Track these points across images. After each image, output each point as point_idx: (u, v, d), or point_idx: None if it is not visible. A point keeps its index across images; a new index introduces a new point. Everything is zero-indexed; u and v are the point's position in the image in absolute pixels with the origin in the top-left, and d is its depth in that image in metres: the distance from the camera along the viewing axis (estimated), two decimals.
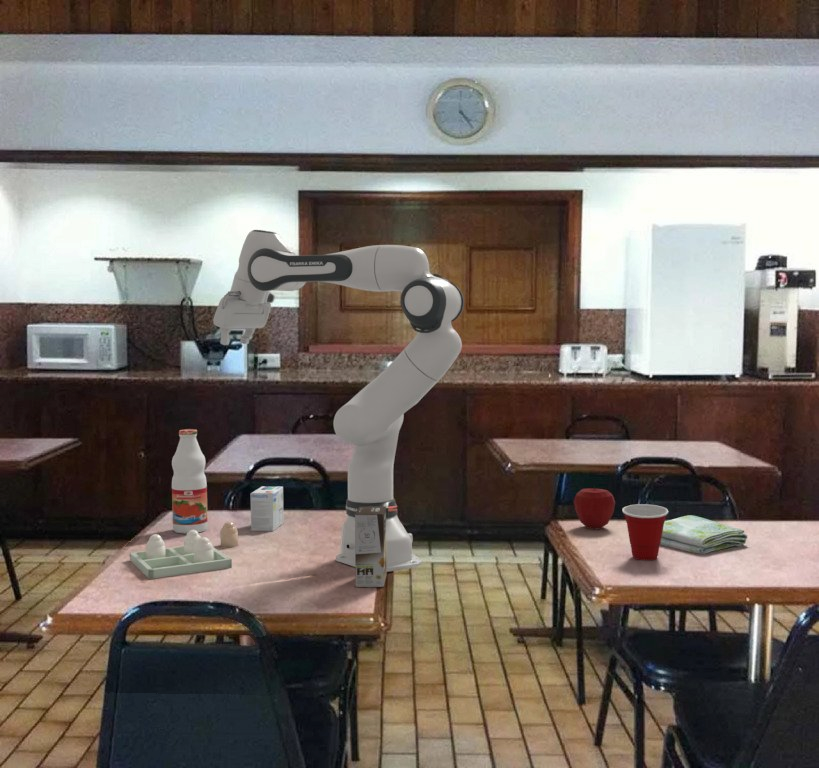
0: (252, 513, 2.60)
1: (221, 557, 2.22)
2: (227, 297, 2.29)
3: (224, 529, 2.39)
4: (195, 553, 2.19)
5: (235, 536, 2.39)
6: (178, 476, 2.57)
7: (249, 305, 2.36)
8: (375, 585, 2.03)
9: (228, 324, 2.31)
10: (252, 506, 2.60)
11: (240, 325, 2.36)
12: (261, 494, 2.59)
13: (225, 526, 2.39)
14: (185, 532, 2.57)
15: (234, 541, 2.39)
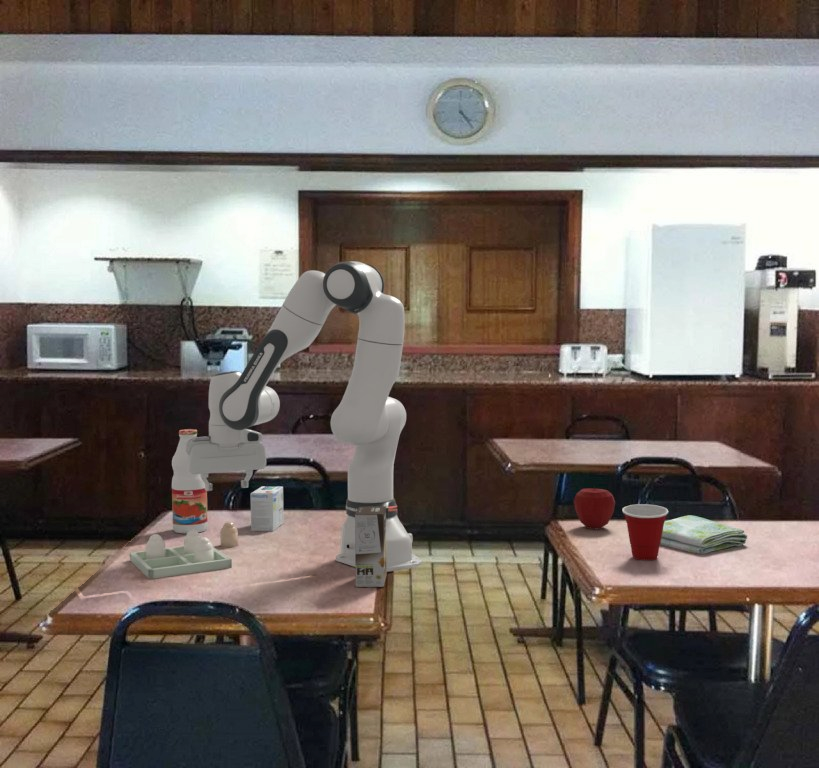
0: (252, 513, 2.60)
1: (221, 557, 2.22)
2: (189, 443, 2.34)
3: (224, 529, 2.39)
4: (195, 553, 2.19)
5: (235, 536, 2.39)
6: (178, 476, 2.57)
7: (222, 447, 2.36)
8: (375, 585, 2.03)
9: (196, 469, 2.34)
10: (252, 506, 2.60)
11: (219, 469, 2.37)
12: (261, 494, 2.59)
13: (225, 526, 2.39)
14: (185, 532, 2.57)
15: (234, 541, 2.39)
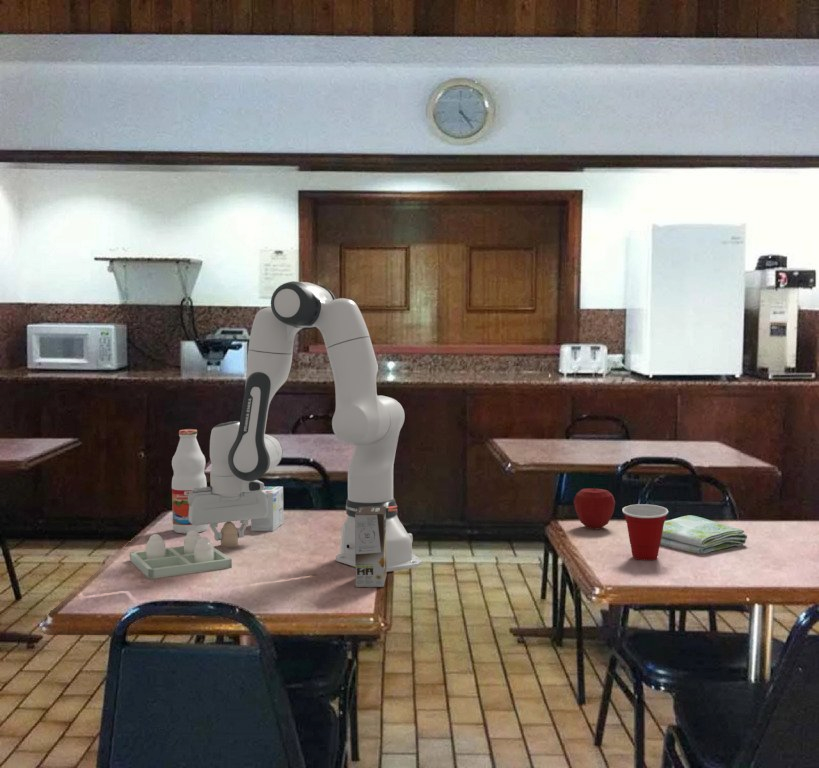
0: None
1: (221, 557, 2.22)
2: (191, 494, 2.35)
3: (224, 529, 2.39)
4: (195, 553, 2.19)
5: (235, 536, 2.39)
6: (178, 476, 2.57)
7: (223, 498, 2.37)
8: (375, 585, 2.03)
9: (198, 520, 2.35)
10: None
11: (221, 519, 2.37)
12: None
13: (225, 526, 2.39)
14: (185, 532, 2.57)
15: (234, 541, 2.39)
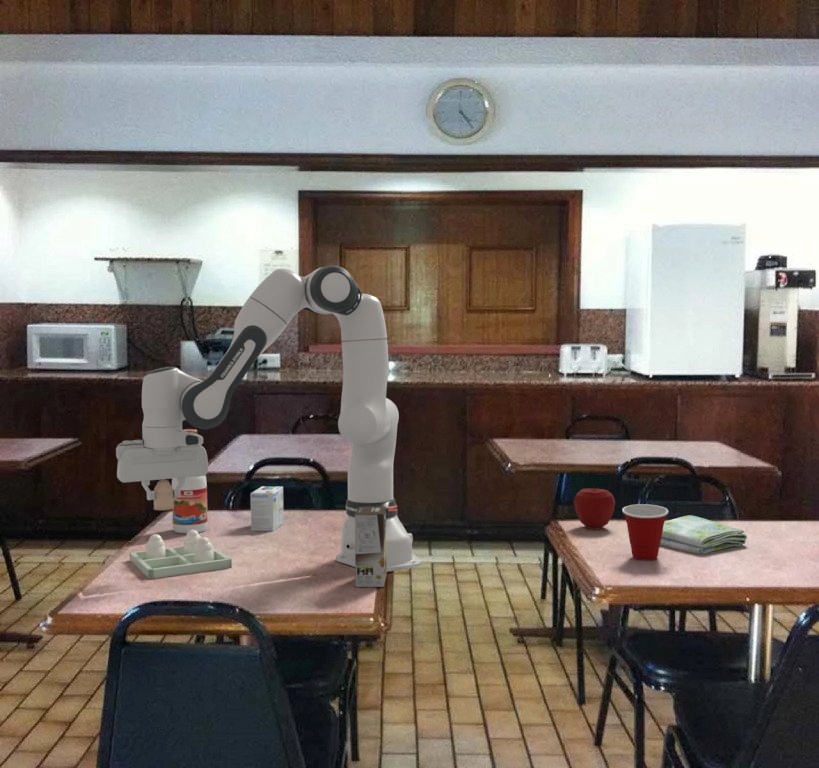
0: (252, 513, 2.60)
1: (221, 557, 2.22)
2: (119, 448, 2.10)
3: (157, 487, 2.14)
4: (195, 553, 2.19)
5: (170, 495, 2.14)
6: None
7: (156, 452, 2.12)
8: (375, 585, 2.03)
9: (127, 477, 2.10)
10: (252, 506, 2.60)
11: (153, 476, 2.12)
12: (261, 494, 2.59)
13: (159, 484, 2.14)
14: (185, 532, 2.57)
15: (169, 501, 2.14)
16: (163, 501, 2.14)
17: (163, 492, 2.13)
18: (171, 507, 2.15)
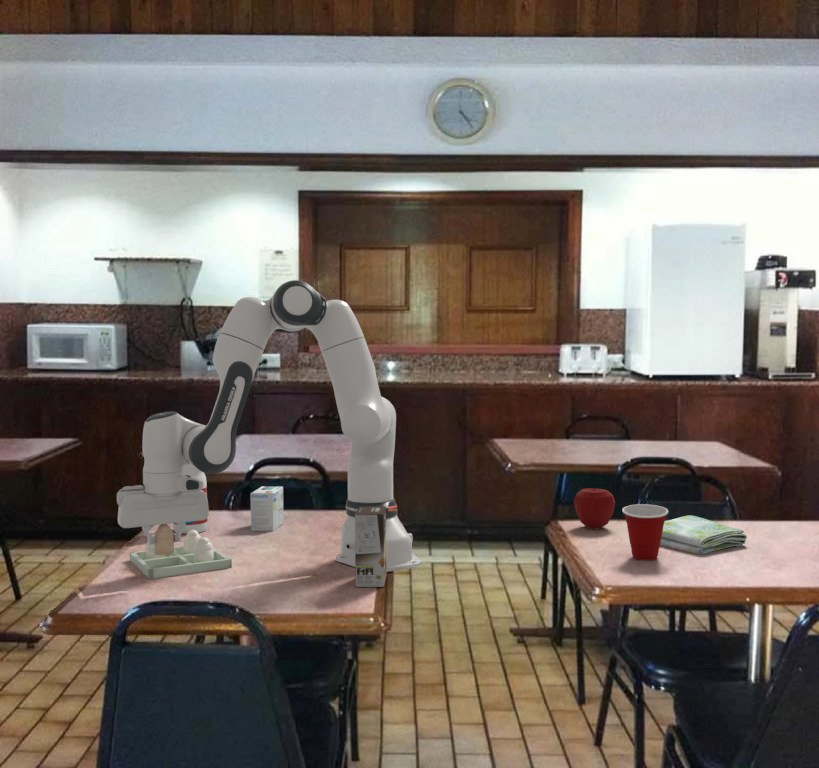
0: (252, 513, 2.60)
1: (221, 557, 2.22)
2: (120, 493, 2.10)
3: (158, 532, 2.15)
4: (195, 553, 2.19)
5: (170, 540, 2.15)
6: None
7: (157, 497, 2.12)
8: (375, 585, 2.03)
9: (128, 522, 2.10)
10: (252, 506, 2.60)
11: (154, 521, 2.13)
12: (261, 494, 2.59)
13: (159, 529, 2.15)
14: (185, 532, 2.57)
15: (169, 546, 2.15)
16: (163, 546, 2.14)
17: (163, 537, 2.14)
18: (171, 552, 2.16)
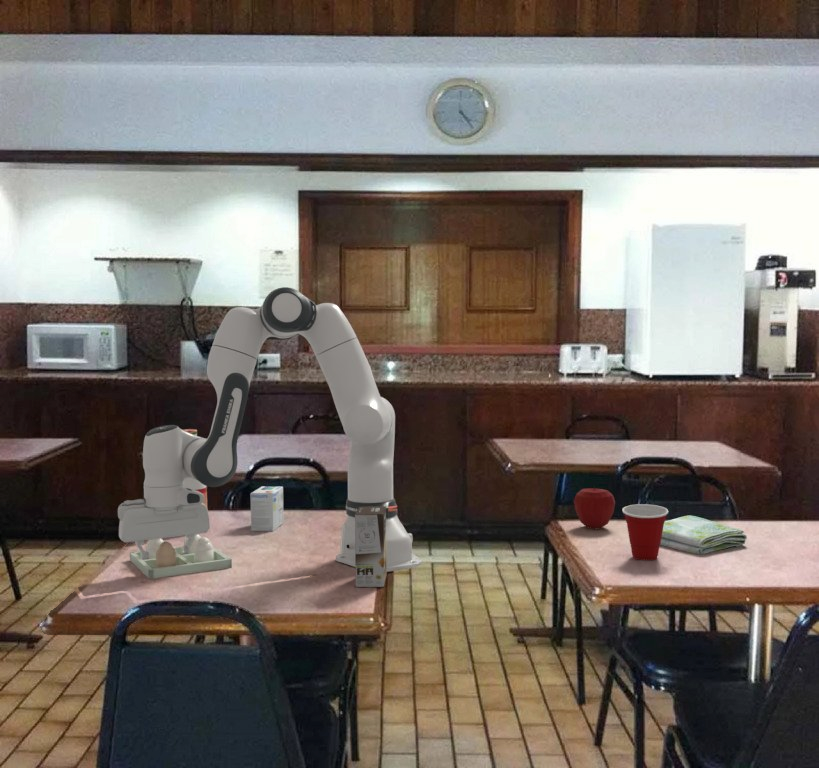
0: (252, 513, 2.60)
1: (221, 557, 2.22)
2: (121, 508, 2.10)
3: (160, 550, 2.15)
4: (195, 553, 2.19)
5: (172, 558, 2.15)
6: None
7: (158, 511, 2.12)
8: (375, 585, 2.03)
9: (129, 537, 2.10)
10: (252, 506, 2.60)
11: (155, 535, 2.13)
12: (261, 494, 2.59)
13: (161, 546, 2.15)
14: None
15: (171, 563, 2.15)
16: (165, 564, 2.14)
17: (165, 555, 2.14)
18: None
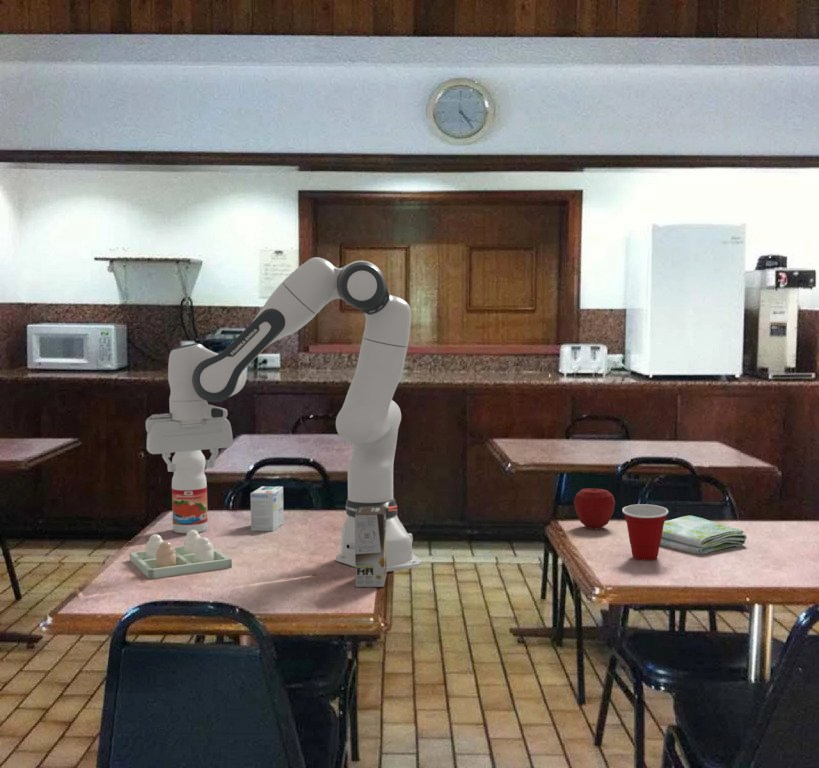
0: (252, 513, 2.60)
1: (221, 557, 2.22)
2: (148, 421, 2.20)
3: (160, 550, 2.15)
4: (195, 553, 2.19)
5: (172, 558, 2.15)
6: (178, 476, 2.57)
7: (184, 425, 2.22)
8: (375, 585, 2.03)
9: (157, 448, 2.20)
10: (252, 506, 2.60)
11: (181, 447, 2.22)
12: (261, 494, 2.59)
13: (161, 546, 2.15)
14: (185, 532, 2.57)
15: (171, 563, 2.15)
16: (165, 564, 2.14)
17: (165, 555, 2.14)
18: None
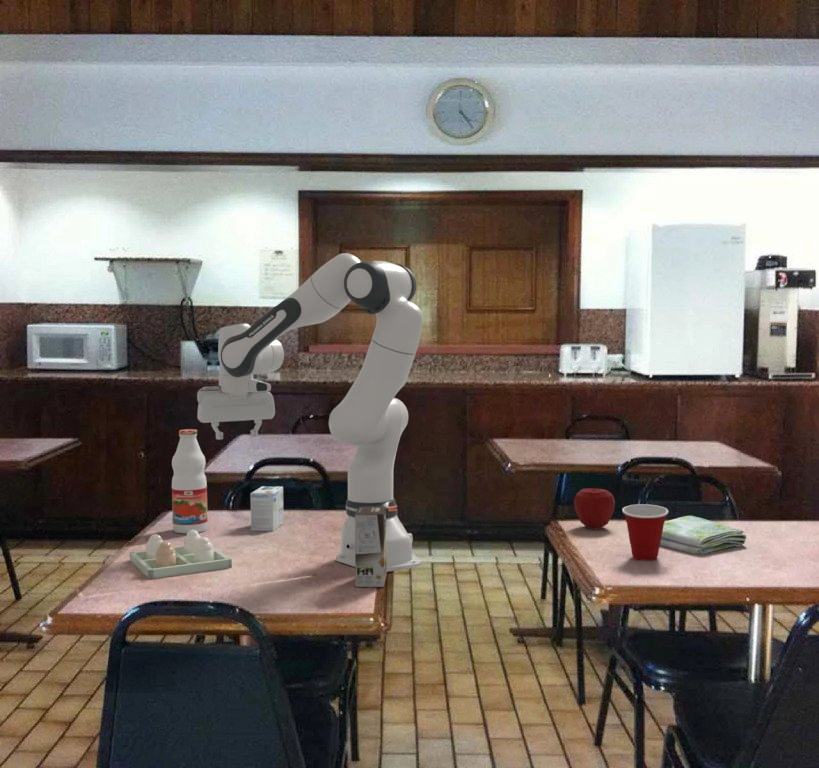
0: (252, 513, 2.60)
1: (221, 557, 2.22)
2: (200, 392, 2.42)
3: (160, 550, 2.15)
4: (195, 553, 2.19)
5: (172, 558, 2.15)
6: (178, 476, 2.57)
7: (231, 397, 2.44)
8: (375, 585, 2.03)
9: (207, 418, 2.42)
10: (252, 506, 2.60)
11: (229, 417, 2.44)
12: (261, 494, 2.59)
13: (161, 547, 2.15)
14: (185, 532, 2.57)
15: (171, 563, 2.15)
16: (165, 564, 2.14)
17: (165, 555, 2.14)
18: None
